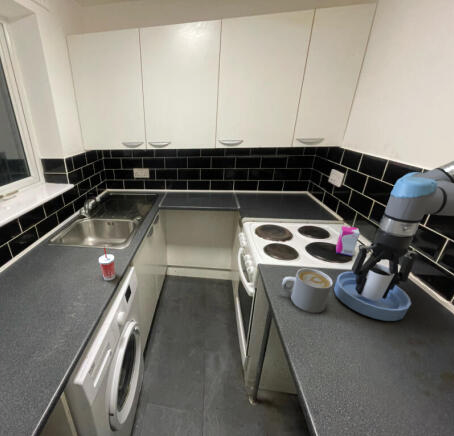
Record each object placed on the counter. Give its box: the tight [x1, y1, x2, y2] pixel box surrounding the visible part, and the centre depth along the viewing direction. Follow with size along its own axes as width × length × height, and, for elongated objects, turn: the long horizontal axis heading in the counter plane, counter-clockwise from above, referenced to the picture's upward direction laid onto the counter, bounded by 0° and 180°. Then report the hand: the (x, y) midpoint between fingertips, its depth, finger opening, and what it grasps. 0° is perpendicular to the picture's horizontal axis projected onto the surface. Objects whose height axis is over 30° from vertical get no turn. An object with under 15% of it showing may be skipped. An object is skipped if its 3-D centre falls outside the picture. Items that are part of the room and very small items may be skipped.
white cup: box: [361, 263, 394, 301], centre depth 74 cm, size 7×7×10 cm
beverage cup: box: [98, 247, 116, 282], centre depth 91 cm, size 6×6×14 cm
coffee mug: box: [281, 267, 334, 314], centre depth 76 cm, size 13×10×10 cm
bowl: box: [333, 271, 412, 322], centre depth 76 cm, size 18×18×5 cm
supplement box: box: [335, 225, 361, 257], centre depth 101 cm, size 6×6×12 cm
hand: (369, 293), depth 76 cm, fingers closed on white cup, 6 cm apart
